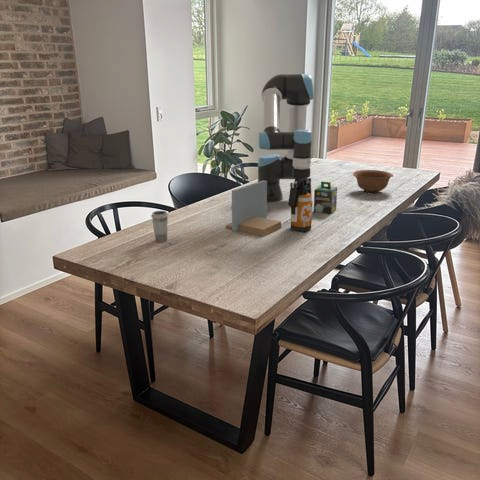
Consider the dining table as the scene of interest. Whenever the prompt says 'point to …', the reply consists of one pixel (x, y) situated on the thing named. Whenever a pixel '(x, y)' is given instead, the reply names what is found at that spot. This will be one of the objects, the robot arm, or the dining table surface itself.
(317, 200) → the chalk box
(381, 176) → the bowl
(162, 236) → the cup
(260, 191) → the wooden stand with panel
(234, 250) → the dining table surface
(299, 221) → the canister
